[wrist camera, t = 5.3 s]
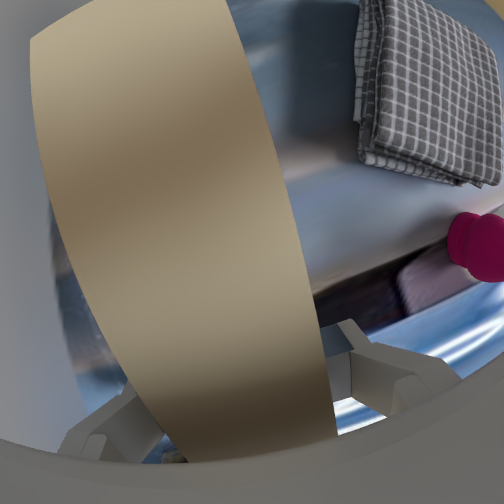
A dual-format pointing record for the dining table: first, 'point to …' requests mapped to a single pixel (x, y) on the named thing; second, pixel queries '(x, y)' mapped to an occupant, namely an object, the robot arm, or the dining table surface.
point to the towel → (426, 95)
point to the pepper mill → (478, 245)
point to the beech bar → (181, 223)
